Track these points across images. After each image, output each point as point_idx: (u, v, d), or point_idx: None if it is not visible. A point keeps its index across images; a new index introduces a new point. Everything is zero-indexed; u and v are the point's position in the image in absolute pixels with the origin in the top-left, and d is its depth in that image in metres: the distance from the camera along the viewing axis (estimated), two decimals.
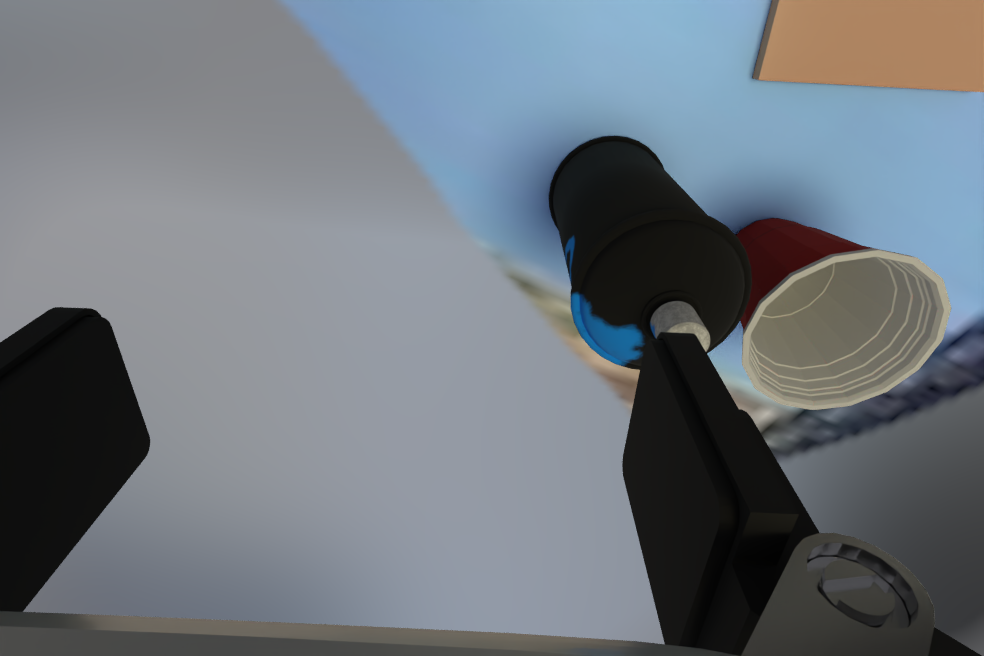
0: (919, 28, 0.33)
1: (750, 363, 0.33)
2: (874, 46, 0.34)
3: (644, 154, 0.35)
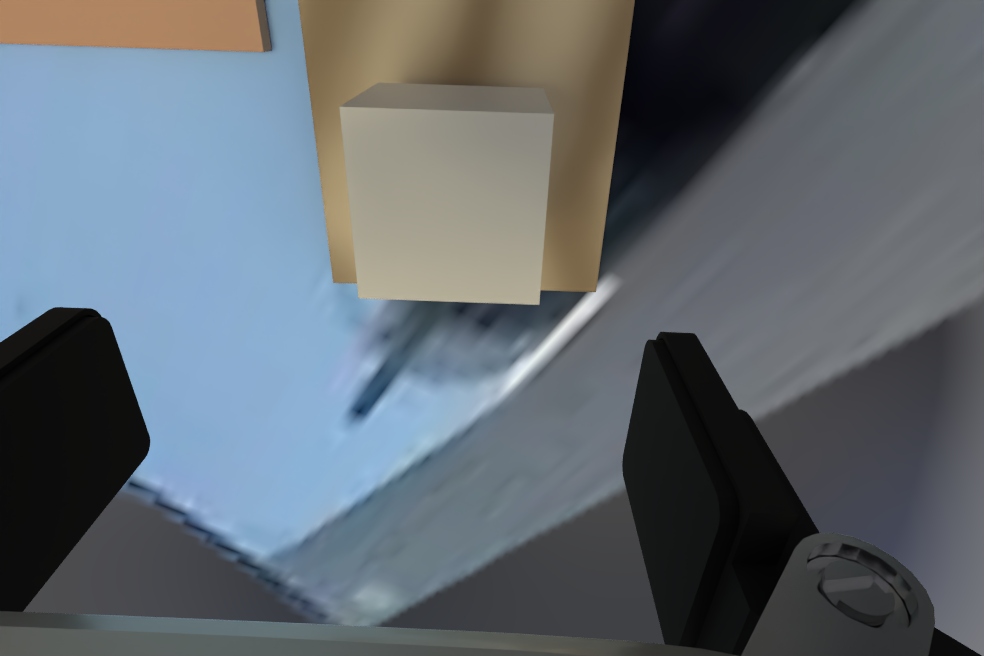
0: None
1: None
2: None
3: None
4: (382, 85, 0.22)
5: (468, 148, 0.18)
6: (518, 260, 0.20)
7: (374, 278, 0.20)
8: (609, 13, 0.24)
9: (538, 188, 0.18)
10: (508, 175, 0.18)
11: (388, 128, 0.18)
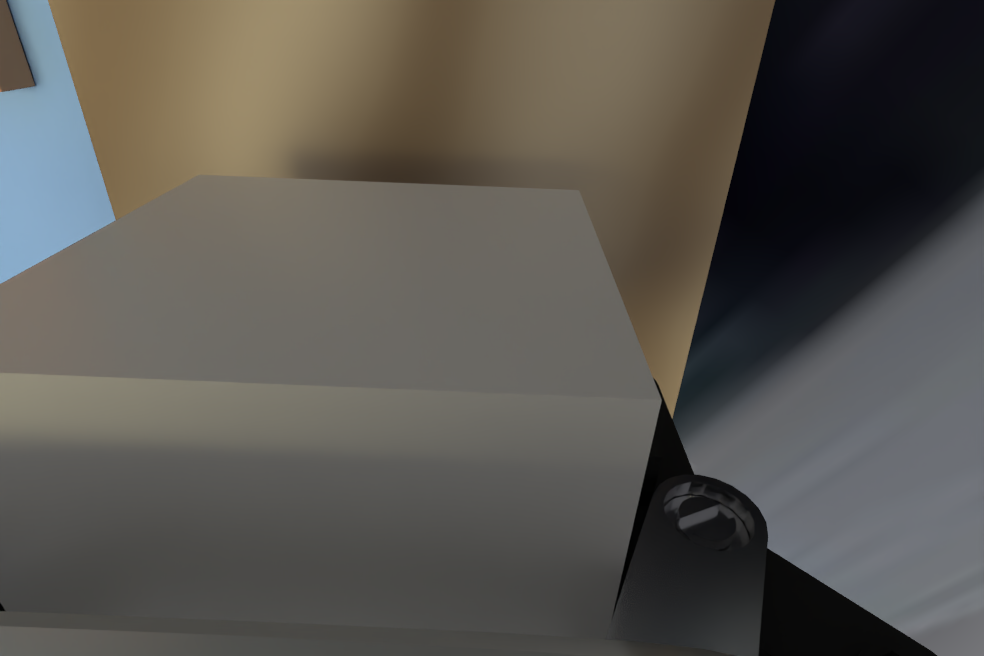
0: None
1: None
2: None
3: None
4: (194, 189, 0.09)
5: (351, 487, 0.05)
6: None
7: None
8: (719, 19, 0.11)
9: (588, 581, 0.06)
10: (491, 552, 0.06)
11: (57, 432, 0.05)
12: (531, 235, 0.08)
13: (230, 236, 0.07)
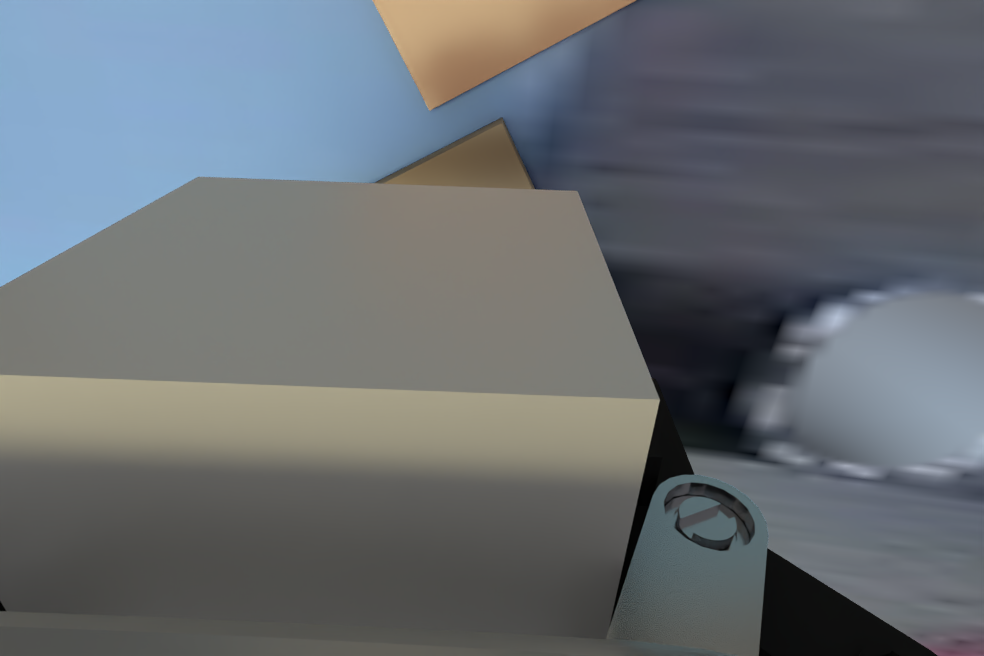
0: None
1: None
2: None
3: None
4: (194, 191, 0.09)
5: (351, 487, 0.05)
6: None
7: None
8: None
9: (587, 580, 0.06)
10: (491, 552, 0.06)
11: (60, 433, 0.05)
12: (530, 236, 0.08)
13: (230, 238, 0.07)
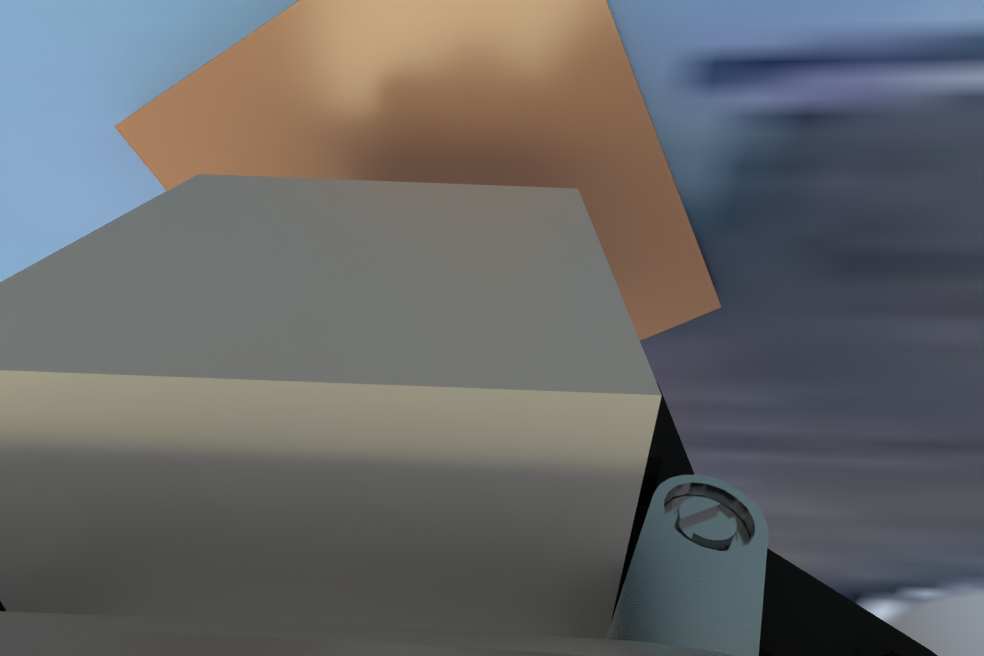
0: (326, 138, 0.17)
1: None
2: (368, 64, 0.16)
3: None
4: (193, 188, 0.09)
5: (351, 484, 0.05)
6: None
7: None
8: None
9: (588, 577, 0.06)
10: (491, 549, 0.06)
11: (58, 429, 0.05)
12: (530, 233, 0.08)
13: (229, 235, 0.07)
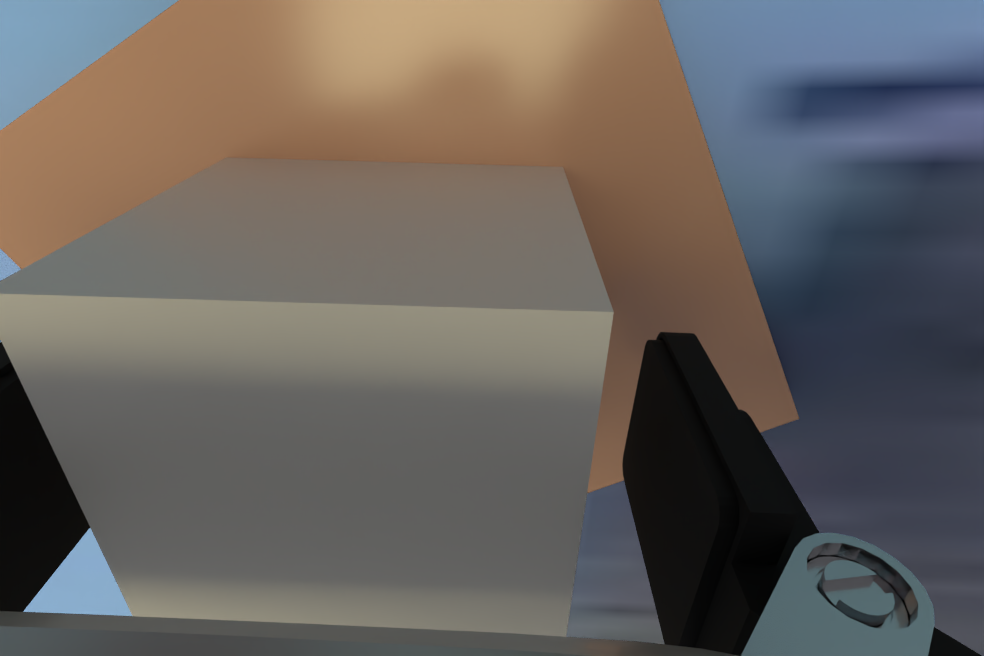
0: None
1: None
2: (297, 93, 0.10)
3: None
4: (224, 168, 0.10)
5: (369, 392, 0.06)
6: (512, 603, 0.08)
7: None
8: None
9: (563, 476, 0.07)
10: (483, 450, 0.07)
11: (137, 347, 0.06)
12: (518, 201, 0.09)
13: (260, 204, 0.09)
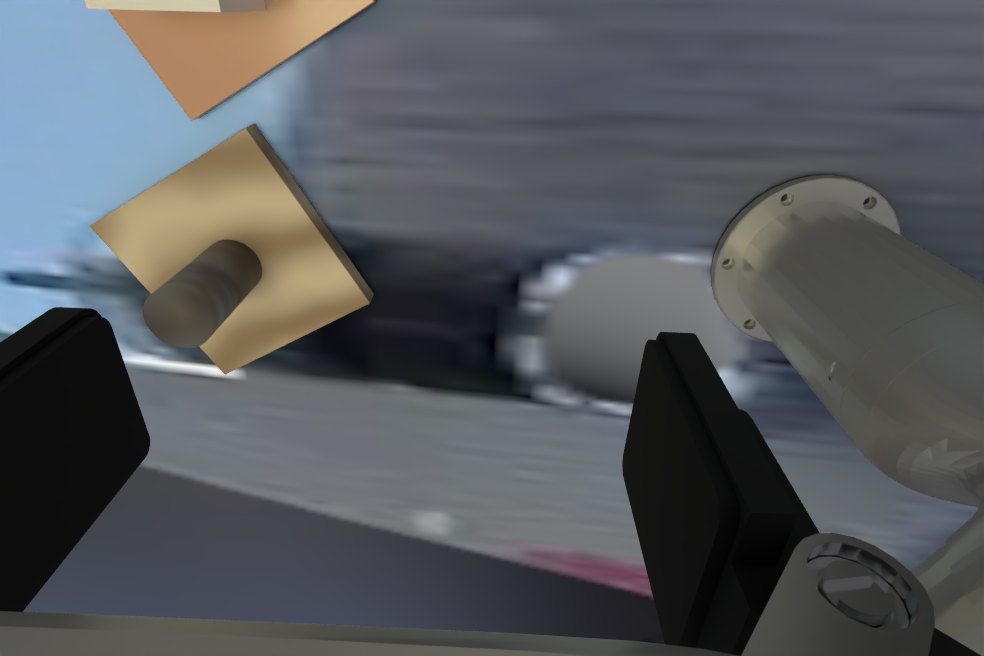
0: None
1: None
2: None
3: None
4: None
5: None
6: None
7: None
8: (350, 298, 0.42)
9: None
10: None
11: None
12: None
13: None
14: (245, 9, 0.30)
